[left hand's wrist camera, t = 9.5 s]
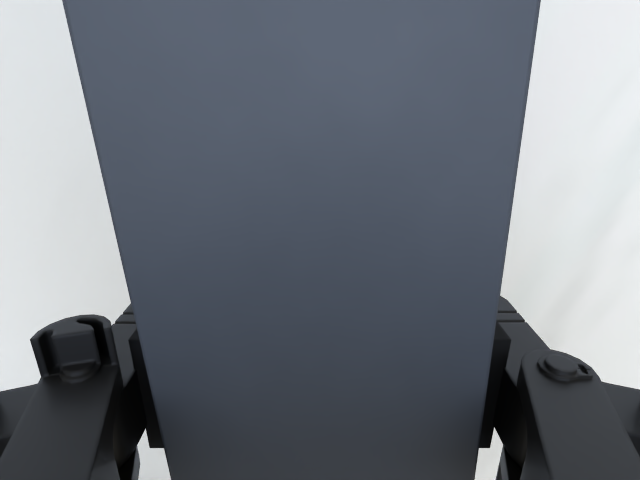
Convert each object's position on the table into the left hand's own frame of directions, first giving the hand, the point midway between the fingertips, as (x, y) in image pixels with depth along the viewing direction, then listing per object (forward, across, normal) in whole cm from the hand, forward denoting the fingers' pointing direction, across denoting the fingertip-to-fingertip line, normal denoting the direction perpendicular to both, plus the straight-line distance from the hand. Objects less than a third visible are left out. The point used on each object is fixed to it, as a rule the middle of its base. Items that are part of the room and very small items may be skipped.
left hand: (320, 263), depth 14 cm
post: (+1, +1, -30) cm, 31 cm away
